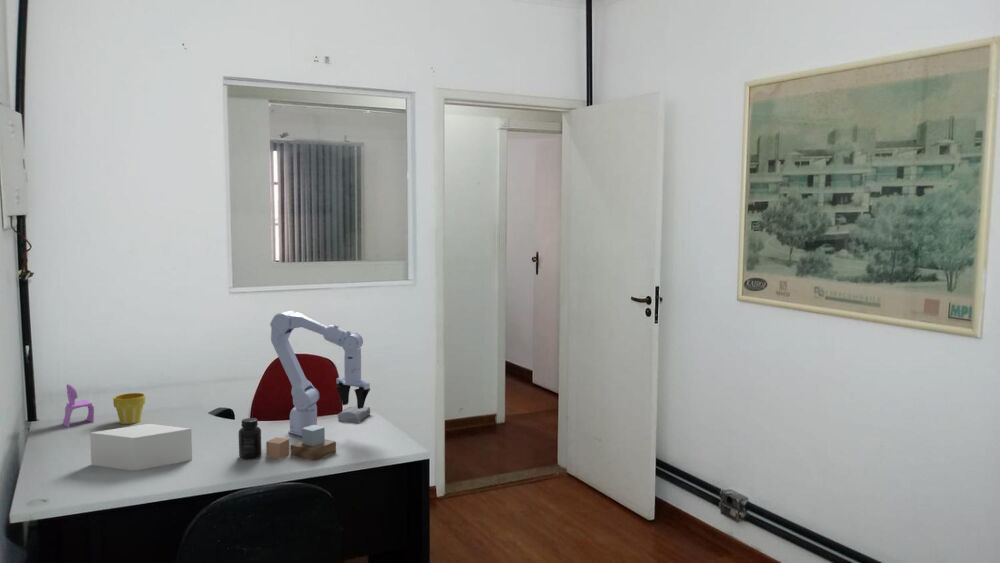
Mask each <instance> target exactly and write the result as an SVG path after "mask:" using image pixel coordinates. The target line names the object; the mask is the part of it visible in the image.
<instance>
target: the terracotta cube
mask: <svg viewBox="0 0 1000 563" xmlns="http://www.w3.org/2000/svg"><path fill="white" fill-rule="evenodd" d="M265 445H266V446H265V447H266V450H265V452H266V454H265V455H266V457H267V458H271V457H272V459H279V458H280V459H282V458H284V457H286V456H288V455H290V439H289V438H285V437H278V436H276V437H273V438H272V439H269V440H267V441H266V443H265ZM280 459H279V460H280Z"/></svg>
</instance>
